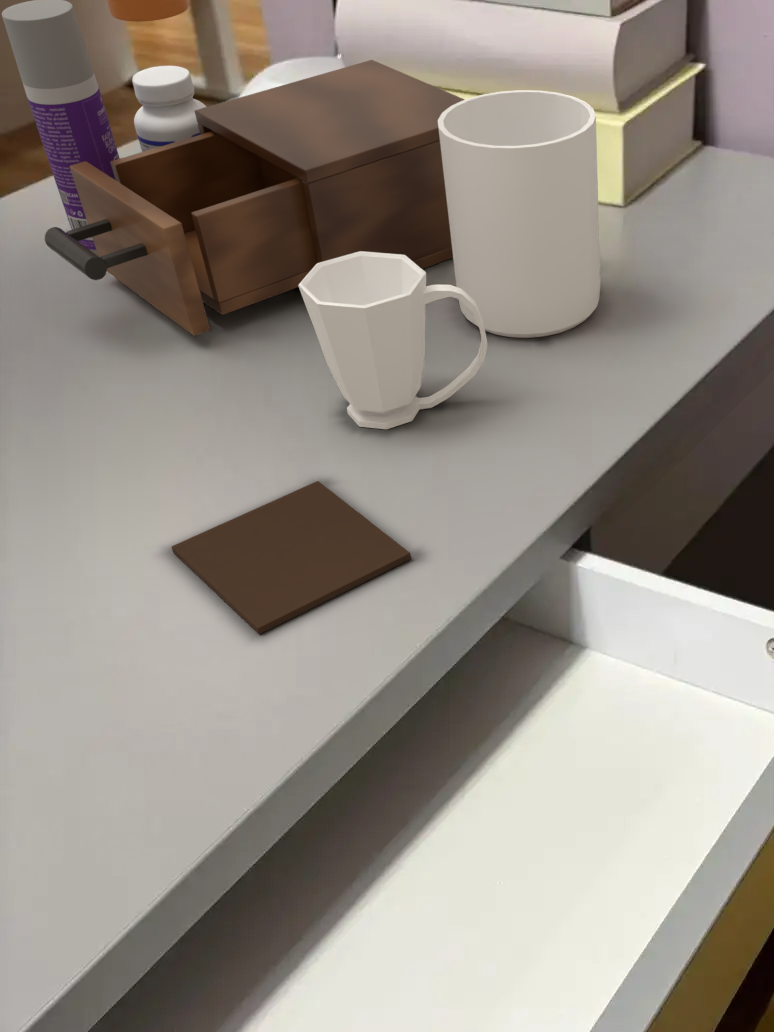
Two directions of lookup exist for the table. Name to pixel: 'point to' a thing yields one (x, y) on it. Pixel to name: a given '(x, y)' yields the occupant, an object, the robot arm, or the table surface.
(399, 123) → the cabinet
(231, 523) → the coaster
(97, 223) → the drawer
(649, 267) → the table surface
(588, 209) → the mug
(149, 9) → the spice jar
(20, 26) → the container
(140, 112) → the pill bottle
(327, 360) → the cup
